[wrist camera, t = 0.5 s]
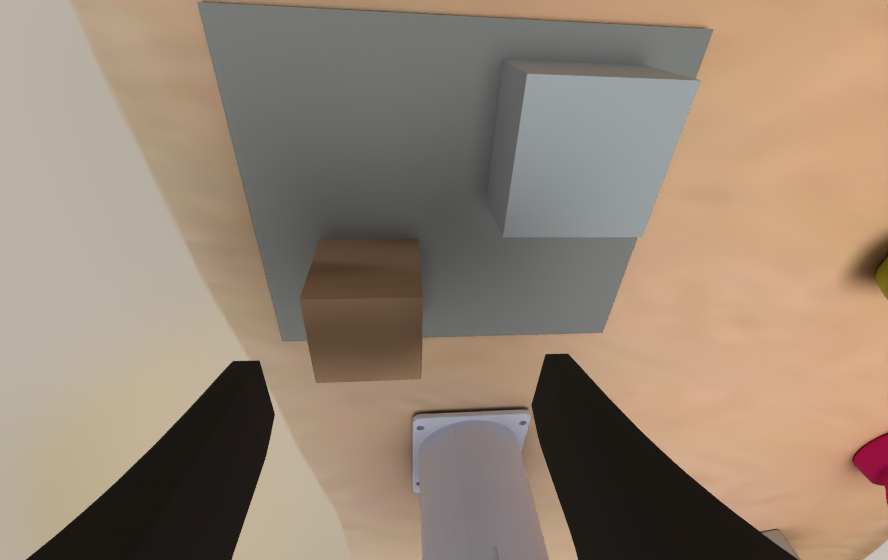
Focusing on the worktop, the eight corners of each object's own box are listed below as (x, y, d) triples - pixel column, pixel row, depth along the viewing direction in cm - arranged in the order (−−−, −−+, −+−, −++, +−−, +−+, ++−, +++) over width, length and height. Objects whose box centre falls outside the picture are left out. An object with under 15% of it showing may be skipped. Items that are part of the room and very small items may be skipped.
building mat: (599, 328, 24) (602, 332, 23) (284, 336, 22) (282, 341, 22) (706, 28, 15) (713, 29, 15) (202, 1, 13) (197, 1, 13)
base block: (604, 200, 18) (642, 237, 16) (486, 199, 18) (503, 237, 15) (644, 65, 15) (700, 80, 12) (502, 58, 15) (527, 73, 12)
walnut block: (417, 313, 21) (421, 379, 18) (330, 315, 21) (316, 382, 17) (418, 238, 19) (422, 297, 15) (319, 239, 18) (299, 299, 15)
